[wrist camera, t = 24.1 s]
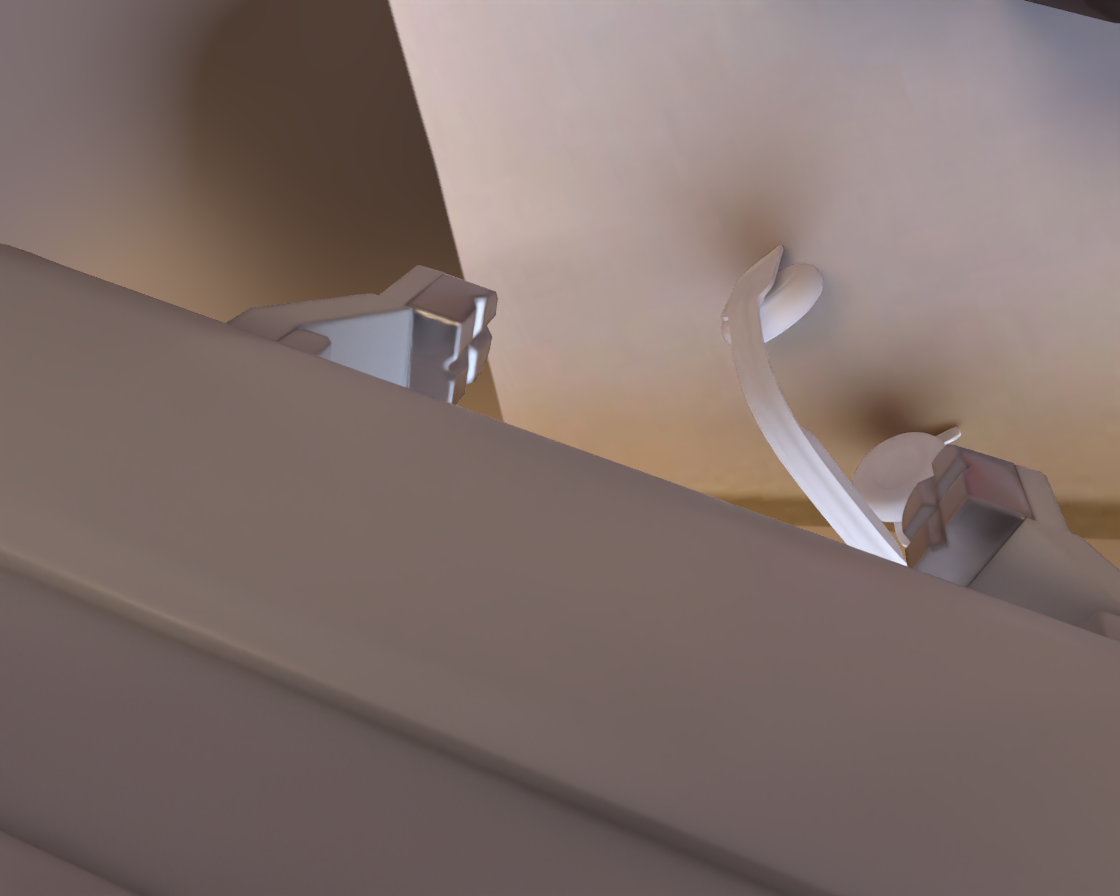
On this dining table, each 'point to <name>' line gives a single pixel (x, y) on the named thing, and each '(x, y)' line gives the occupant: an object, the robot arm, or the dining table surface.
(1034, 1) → the bottle
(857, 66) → the dining table surface
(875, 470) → the headset
